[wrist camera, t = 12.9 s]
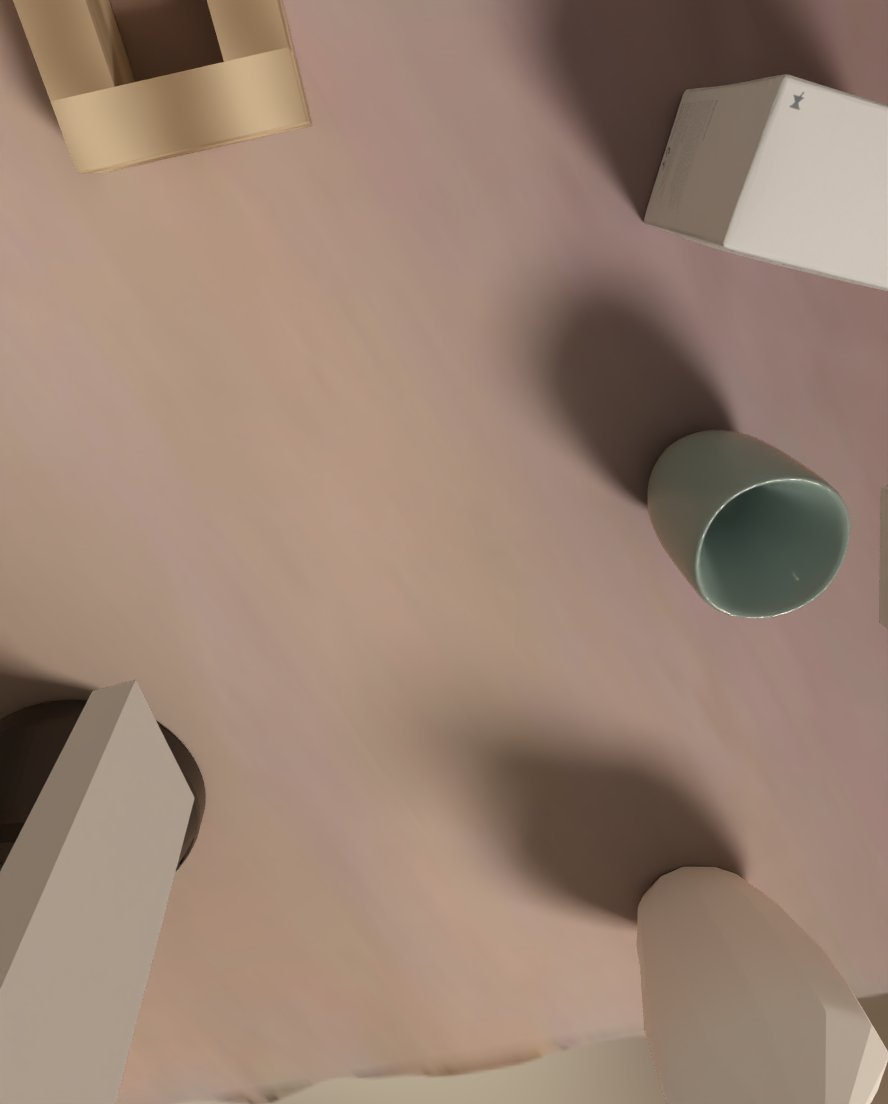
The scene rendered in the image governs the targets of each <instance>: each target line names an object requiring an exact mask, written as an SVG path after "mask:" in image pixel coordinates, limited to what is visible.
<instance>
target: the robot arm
mask: <svg viewBox="0 0 888 1104" xmlns="http://www.w3.org/2000/svg"><path fill="white" fill-rule="evenodd" d="M879 622H880V623H881V624H882V625H883V626H885V627H886V628H887V629H888V485H886V486H882V487H881V495H880V579H879ZM204 809H205V787H204V782H203V778H202V775H201V772H200V770H199V768H198V766H197V764H196V762H195V760H194V759H193V757H192V756H191V754H190V753H189V752H188V750H187V749H186V748H185V747H184V746H183V744H182V743H181V742H180V741H179V740H178V739H177V738H175V737H174V736H173V735H172V734H171V733H169V732H168V731H167V730H166V729H164V728H163V727H161V726H160V725H158V724H157V722H156V720H155V718H154V716H153V714H152V712H151V710H150V708H149V706H148V704H147V702H146V700H145V698H144V696H143V694H142V692H141V690H140V688H139V686H138V684H137V682H136V680H133V681H129V682H125V683H121V684H118V685H114V686H110V687H106V688H102V689H98V690H94V691H92V693H91V695H90V697H89V699H88V701H56V702H48V703H43V704H39V705H35V706H31V707H28V708H25V709H22V710H20V711H17V712H15V713H13V714H11V715H9V716H7V717H6V718H4V719H2V720H1V721H0V1104H116V1100H117V1096H118V1093H119V1089H120V1085H121V1081H122V1077H123V1073H124V1069H125V1066H126V1062H127V1058H128V1054H129V1050H130V1046H131V1042H132V1038H133V1035H134V1031H135V1027H136V1023H137V1019H138V1015H139V1011H140V1007H141V1004H142V1000H143V996H144V992H145V988H146V984H147V980H148V976H149V973H150V969H151V965H152V961H153V957H154V953H155V949H156V946H157V942H158V938H159V934H160V930H161V926H162V922H163V918H164V915H165V911H166V907H167V903H168V899H169V895H170V891H171V887H172V884H173V880H174V876H175V872H176V871H177V870H178V869H179V867H180V866H181V865H182V864H183V862H184V861H185V860H186V858H187V857H188V855H189V854H190V852H191V850H192V848H193V846H194V844H195V841H196V839H197V836H198V833H199V829H200V825H201V821H202V817H203V813H204Z"/></svg>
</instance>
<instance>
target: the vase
mask: <svg viewBox="0 0 888 1104" xmlns="http://www.w3.org/2000/svg"><path fill="white" fill-rule="evenodd" d="M637 952H638V957H639V963H640V973H641V987H642V1002H643V1017H644V1030H645V1034H646V1037H647V1041H648V1044H649V1048H650V1052H651V1055H652V1059H653V1062H654V1066H655V1069H656V1072H657V1076H658V1079H659V1082H660V1085H661V1088H662V1091H663V1094H664V1097H665V1101H666V1104H870V1103H871V1101H872V1099H873V1098H874V1096H875V1094H876V1092H877V1090H878V1088H879V1085H880V1082H881V1079H882V1076H883V1073H884V1070H885V1067H886V1064H887V1061H888V1051H887V1049H886V1048H885V1046H884V1044H883V1042H882V1041H881V1039H880V1037H879V1036H878V1034H877V1032H876V1031H875V1029H874V1027H873V1025H872V1024H871V1022H870V1020H869V1019H868V1017H867V1015H866V1014H865V1012H864V1010H863V1008H862V1007H861V1005H860V1004H859V1002H858V1000H857V999H856V997H855V995H854V994H853V992H852V991H851V989H850V987H849V986H848V984H847V982H846V981H845V979H844V978H843V977H842V975H841V974H840V973H839V971H838V970H837V968H836V967H835V966H834V964H833V963H832V962H831V960H830V959H829V957H828V956H827V955H826V953H825V952H824V951H823V950H822V949H821V947H820V946H819V945H818V944H817V943H816V942H815V941H814V940H813V939H812V938H811V937H810V936H809V935H808V934H807V933H806V932H805V931H804V930H803V929H802V928H801V927H800V926H799V925H798V924H797V923H796V922H795V921H794V920H793V919H792V918H791V917H790V916H789V915H788V914H787V913H786V912H785V911H784V910H783V909H782V908H781V907H780V906H779V905H778V904H777V903H776V902H774V901H773V900H772V899H770V898H769V897H768V896H767V895H765V894H764V893H763V892H762V891H760V890H759V889H757V888H755V887H754V886H752V885H751V884H749V883H748V882H747V881H745V880H744V879H743V878H741V877H740V876H739V875H737V874H735V873H732V872H729V871H726V870H723V869H720V868H717V867H681V868H679V869H677V870H674V871H672V872H670V873H667V874H665V875H663V876H661V877H660V878H659V879H658V880H657V881H656V882H655V883H654V884H653V885H652V886H651V887H650V888H649V889H648V890H647V891H646V893H645V894H644V895H643V897H642V899H641V901H640V903H639V906H638V919H637Z"/></svg>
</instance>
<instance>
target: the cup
mask: <svg viewBox="0 0 888 1104" xmlns="http://www.w3.org/2000/svg"><path fill="white" fill-rule="evenodd" d="M647 505H648V512H649V517H650V520H651V523H652V525H653V528H654V530H655V533H656V535H657V537H658V539H659V541H660V543H661V545H662V546H663V548H664V549H665V551H666V552H667V554H668V555H669V557H670V558H671V559H672V561H673V562H674V564H675V565H676V566H677V568H678V569H679V570H680V572H681V573H682V574H683V576H684V577H685V578H686V580H687V581H688V582H689V584H690V585H691V586H692V587H693V589H694V590H695V591H696V593H697V594H698V595H699V596H700V597H701V598H702V599H703V600H704V601H705V602H706V603H708V604H709V605H710V606H712V607H713V608H714V609H716V610H718V611H720V612H722V613H725V614H727V615H730V616H735V617H740V618H756V619H758V618H767V617H775V616H778V615H782V614H786V613H789V612H792V611H794V610H796V609H799V608H801V607H803V606H805V605H806V604H808V603H809V602H811V601H812V600H814V599H815V598H816V597H817V596H819V595H820V594H821V593H822V592H823V591H824V590H825V589H826V588H827V587H828V585H829V584H830V583H831V581H832V580H833V579H834V577H835V576H836V574H837V572H838V570H839V568H840V566H841V565H842V563H843V560H844V557H845V554H846V551H847V547H848V541H849V535H850V522H849V515H848V511H847V508H846V505H845V503H844V502H843V500H842V498H841V496H840V495H839V493H838V492H837V491H836V490H835V489H834V488H833V487H832V486H830V485H829V484H828V483H827V482H826V481H825V480H824V479H822V478H821V477H820V476H819V475H817V474H816V473H814V472H813V471H812V470H810V469H809V468H807V467H806V466H804V465H803V464H801V463H800V462H798V461H797V460H795V459H794V458H792V457H791V456H789V455H788V454H786V453H784V452H783V451H781V450H779V449H777V448H776V447H774V446H772V445H770V444H768V443H766V442H764V441H762V440H760V439H758V438H756V437H753V436H750V435H747V434H743V433H739V432H735V431H730V430H707V431H700V432H696V433H692V434H689V435H687V436H684V437H682V438H680V439H678V440H677V441H675V442H674V443H673V444H671V445H670V446H668V447H667V449H666V450H665V451H664V452H663V453H662V454H661V455H660V457H659V458H658V460H657V462H656V463H655V465H654V467H653V470H652V472H651V475H650V478H649V483H648V491H647Z"/></svg>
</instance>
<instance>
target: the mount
mask: <svg viewBox="0 0 888 1104" xmlns="http://www.w3.org/2000/svg"><path fill="white" fill-rule="evenodd" d="M13 2H14V5H15V7H16V10H17V13H18V15H19V18H20V21H21V23H22V26H23V29H24V32H25V34H26V37H27V40H28V42H29V45H30V48H31V50H32V53H33V56H34V58H35V61H36V64H37V67H38V69H39V72H40V75H41V77H42V80H43V83H44V85H45V88H46V91H47V94H48V96H49V99H50V102H51V104H52V107H53V110H54V112H55V115H56V118H57V120H58V123H59V126H60V129H61V131H62V134H63V137H64V139H65V142H66V145H67V147H68V150H69V153H70V155H71V158H72V161H73V164H74V166H75V169H76V172H77V173H103V172H109V171H114V170H118V169H123V168H127V167H131V166H136V165H140V164H145V163H149V162H153V161H158V160H162V159H167V158H171V157H175V156H180V155H184V154H189V153H193V152H198V151H202V150H206V149H211V148H215V147H220V146H224V145H228V144H233V143H237V142H242V141H246V140H250V139H255V138H259V137H264V136H268V135H272V134H277V133H281V132H286V131H290V130H295V129H299V128H303V127H308V126H312V121H311V117H310V113H309V108H308V104H307V100H306V96H305V92H304V88H303V84H302V80H301V76H300V71H299V67H298V63H297V59H296V55H295V51H294V47H293V43H292V39H291V35H290V30H289V26H288V22H287V18H286V14H285V10H284V6H283V2H282V0H207V3H208V6H209V10H210V14H211V17H212V21H213V24H214V28H215V31H216V35H217V39H218V42H219V46H220V49H221V53H222V57H223V60H224V62H221V63H217V64H212V65H208V66H203V67H199V68H195V69H190V70H186V71H182V72H177V73H173V74H168V75H164V76H160V77H155V78H151V79H147V80H142V81H138V82H136V81H135V78H134V75H133V72H132V69H131V66H130V63H129V60H128V57H127V54H126V51H125V47H124V44H123V41H122V38H121V35H120V32H119V29H118V26H117V23H116V20H115V17H114V14H113V11H112V8H111V4H110V1H109V0H13Z"/></svg>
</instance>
